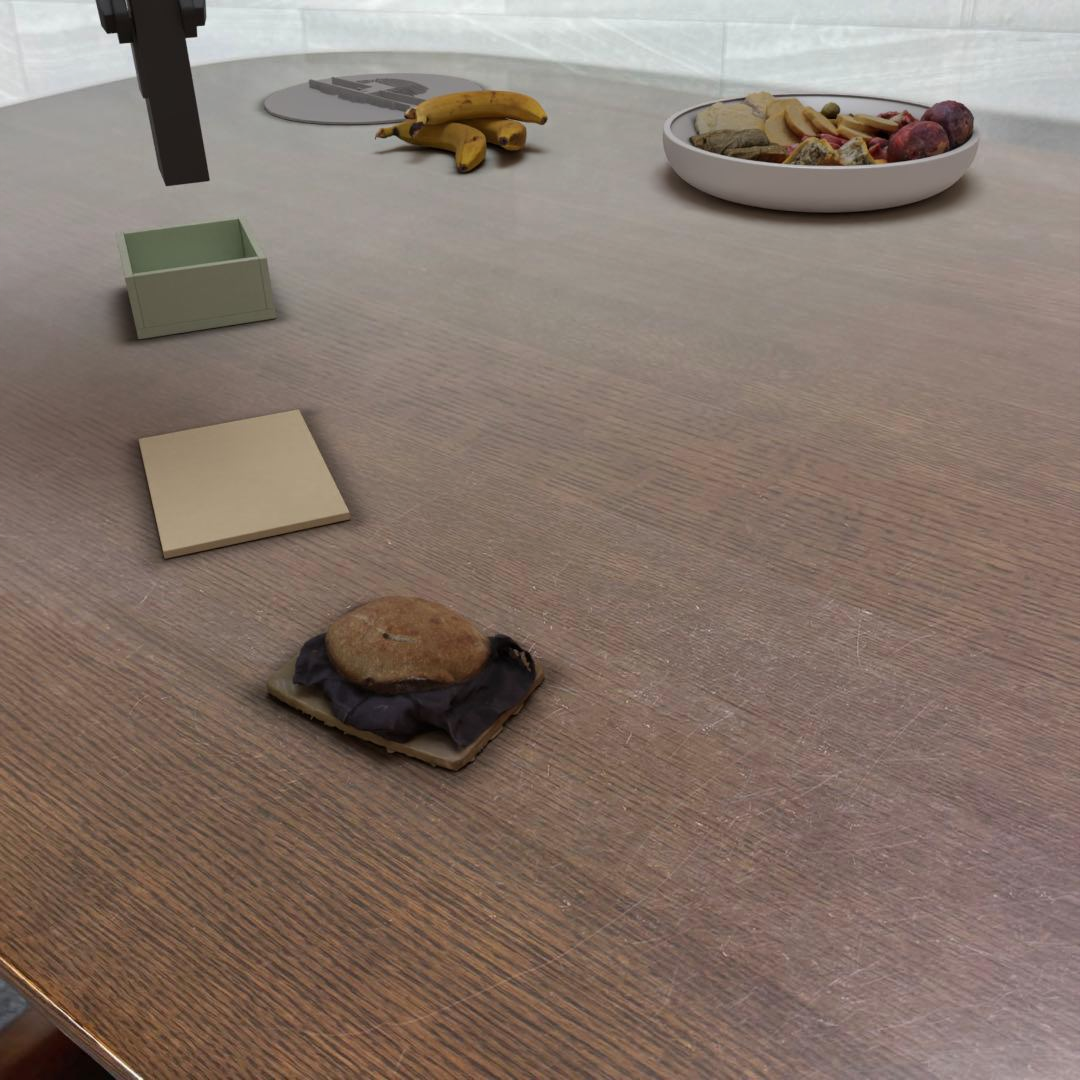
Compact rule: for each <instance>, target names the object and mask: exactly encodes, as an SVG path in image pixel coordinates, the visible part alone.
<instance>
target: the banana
mask: <svg viewBox="0 0 1080 1080" xmlns="http://www.w3.org/2000/svg"><path fill="white" fill-rule="evenodd" d="M404 117H405V118H406V119H411V120H408V121H402V122H398V123H397V124H395V125H393V126H387V127H380V128H379V129H378V130H377V132H376V133H375V137H374V140H377V138H379V139H387V138H391V137H394V136H395V137H396V138H397V139H399V140H401V141H403V142H405V143H407V144H410V145H413V146H419V147H426V148H434V149H440V150H445V151H449V152H452V153H455V155H454V156H455V164H456V167H457V169H458V171H459V172H460V173H466V172H469V171H471V170H473V169H474V168H475V167H476V166H478V165H479V164H481V163H482V162H483V160H484V159H485V156H486V154H487V143H490V144H494V145H497V146H500V147H502V148H503V149H505V150H507V151H519V150H521V149H523V148H525V145H526V143H527V138H528V137H527V133H528V132H527V126H526V125H524V124H523V123H527V124H537V125H539V126H544V125H545V124H547V122H548V115H547V113H546V111H545V110H544V108H543V107H542V105H541V104H540V103H539V102H538V100H536V99H535V98H533V97H531V96H529V95H527V94H523V93H519V92H514V91H508V90H495V89H494V90H492V89H491V90H490V89H489V90H483V91H468V92H459V93H452V94H447V95H442V96H438V97H434V98H431V99H428V100H426V101H424V102H422V103H420V104H419V105H418V106H417V107H413V108H410V109H407V110H406V111H405V114H404ZM521 122H522V123H521Z"/></svg>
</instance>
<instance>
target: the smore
mask: <svg viewBox="0 0 1080 1080" xmlns="http://www.w3.org/2000/svg"><path fill="white" fill-rule="evenodd" d="M515 650H516V651H517V652H515ZM523 653H524V655H523ZM522 655H523V656H522ZM545 678H546V675H545V670H544V668H543V667H542V666H541V665H540V664H538V663H537V662H535V660H534V659H533V658H532V654H531V653H530V651H528V650H526V649H523V648H522V646H520V644H518V642H517V641H515V640H514V639H513V638H512V637H511V636H509V635H506V634H501V633H497V634H495V635H494V636H486V635H485V634H484V633H483V631H482V630H480V629H479V628H478V626H476V625H475V624H473V623H472V622H471V621H470V620H468V619H466V618H465V617H463V616H461V615H460V614H458V613H457V612H455V611H453V610H452V609H450V608H447V607H446V606H444V605H442V604H440V603H437V602H434V601H431V600H428V599H425V598H422V597H417V596H416V597H414V596H406V595H389V596H388V595H387V596H383V597H382V596H381V597H378V598H373V599H371V600H370V601H366V602H362V603H361V602H360V604H357V605H355V606H354V607H352V608H350V609H349V610H347V611H346V612H344V614H342V615H341V616H340V617H339V618H337V619H335V620H334V621H333V622H332V623H331V624H330V625H329V627H328V628H326V629H325V630H324V631H323V632H322V633H320V634H317V635H316V636H314V637H311V638H309V639H308V640H307V641H305V642H304V643H303V645H302V646H301V648H300V651H298V652H297V653H296V654H295V655H294V656H292V657H291V658H290V659H289V660H287V662H285V663H284V664H283V665H282V666H281V667H280V668H278V669H277V670H276V671H274V672H273V673H272V674H271V675H270V676H269V677H268V679H267V681H266V689H265V692H269V694H271V695H272V696H273V698H275V697H276V699H277V700H279V701H280V702H283V703H286V704H287V705H288V706H290V707H291V708H294V709H295V710H296V711H299V710H300V711H302V714H306V715H310V716H311V717H310V720H312V719H313V718H314V717H315V719H316V720H318V721H321V722H323V725H327V727H331V728H334V727H336V728H337V729H338V730H339V731H342V732H343V735H346V734H347V735H350V736H354V737H356V738H358V739H360V740H363V741H366V742H369V741H370V742H371V743H373V744H374V745H378V746H382V747H385V748H386V751H387V753H388V754H393V753H395V752H397V753H401V754H404V755H406V756H407V757H409V758H416V759H418V760H421V761H422V762H425V763H427V764H429V765H431V766H432V767H436V766H438V767H441V768H444V769H449V770H451V771H458V770H459V769H461V768H462V767H464V766H466V765H467V764H468V763H469V762H473V761H474V760H476V759H475V758H476V756H477V754H479V752H480V753H482V751H481V750H483V749H484V747H485V746H487V744H488V742H489V741H491V740H493V739H494V738H496V736H497V735H499V734H500V733H501V731H502V730H503V729H504V727H503V725H504V723H506V722H507V720H508V719H509V718H510V717H511V716H514V715H517V714H519V712H520V711H521V710H522V709H523V707H524V704H525V701H526V700H527V699H528V697H530V696H531V694H532V693H533V692H534V691H535V689H536V688H537V687H538V686H539V685H541V684H542V682H543V681H544V679H545Z"/></svg>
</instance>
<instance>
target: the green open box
mask: <svg viewBox="0 0 1080 1080" xmlns="http://www.w3.org/2000/svg"><path fill="white" fill-rule="evenodd" d="M115 238H116V242H117V248H118V252H119V256H120V257H119V258H120V261H121V267H122V271H123V276H124V281H125V285H126V289H127V294H128V299H129V304H130V307H131V312H132V313H131V314H132V316H133V321H134V326H135V330H136V331H135V332H136V334H137V335H136V336H137V339H138V340H144V339H150V338H151V339H152V338H159V337H164V336H171V335H177V334H183V333H190V332H196V331H203V330H208V329H209V330H210V329H214V328H222V327H229V326H234V325H240V324H241V325H242V324H248V323H253V322H254V323H255V322H261V321H268V320H273V319H277V315H276V309H275V301H274V294H273V288H272V281H271V276H270V270H269V263H268V257H267V256H266V253H265V251H264V249H263V248H262V246H261V244H260V242H259V239H258V238H257V236H256V235H255V232H254V230H253V228H252V226H251V225H250V223H249V220H248V219H247V217H246V216H245V215H240V216H232V217H226V218H225V217H224V218H218V219H211V220H202V221H194V222H187V223H186V222H185V223H178V224H171V225H163V226H157V227H149V228H140V229H134V230H125V231H117V232H115Z"/></svg>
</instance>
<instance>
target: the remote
mask: <svg viewBox="0 0 1080 1080" xmlns="http://www.w3.org/2000/svg"><path fill="white" fill-rule="evenodd" d="M126 4H127V9H128V13H129V18H130V23H131V30H132V37H133V43H129V44H130V49H131V54H132V59H133V64H134V69H135V75H136V79H137V86H138V89H139V92H140V94H141V96H142V99H144V100H145V105H146V111H147V115H148V120H149V126H150V131H151V136H152V142H153V147H154V153H155V157H156V162H157V167H158V171H159V172H160V175H161V178H162V180H163V183H164V186H165V187H174V186H182V185H189V184H198V183H206V182H210V181H211V179H210V172H209V167H208V161H207V154H206V149H205V144H204V137H203V131H202V126H201V121H200V114H199V109H198V103H197V97H196V90H195V86H194V79H193V74H192V67H191V62H190V61H191V60H190V56H189V49H188V45H187V38H185V32H184V30H183V24H182V18H181V13H180V7H179V1H178V0H126Z"/></svg>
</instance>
